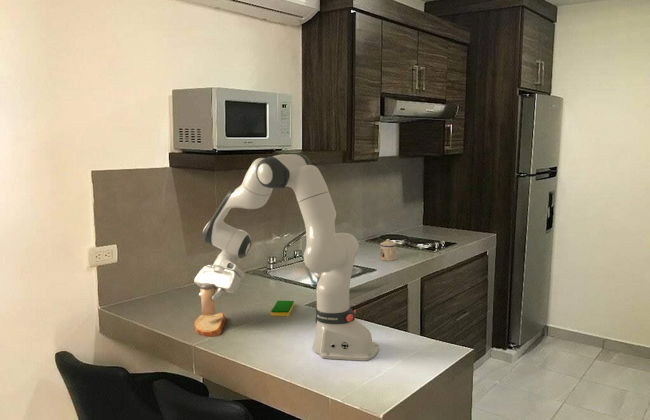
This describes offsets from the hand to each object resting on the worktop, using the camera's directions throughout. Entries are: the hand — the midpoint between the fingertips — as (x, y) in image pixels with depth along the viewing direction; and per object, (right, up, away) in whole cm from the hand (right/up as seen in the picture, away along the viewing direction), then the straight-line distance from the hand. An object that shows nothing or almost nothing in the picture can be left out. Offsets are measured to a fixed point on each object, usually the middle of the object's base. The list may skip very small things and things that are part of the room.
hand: (206, 298), depth 210 cm
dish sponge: (+27, -9, +20) cm, 35 cm away
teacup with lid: (+81, +5, +104) cm, 131 cm away
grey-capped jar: (0, -6, +1) cm, 6 cm away
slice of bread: (+2, -12, +2) cm, 12 cm away
